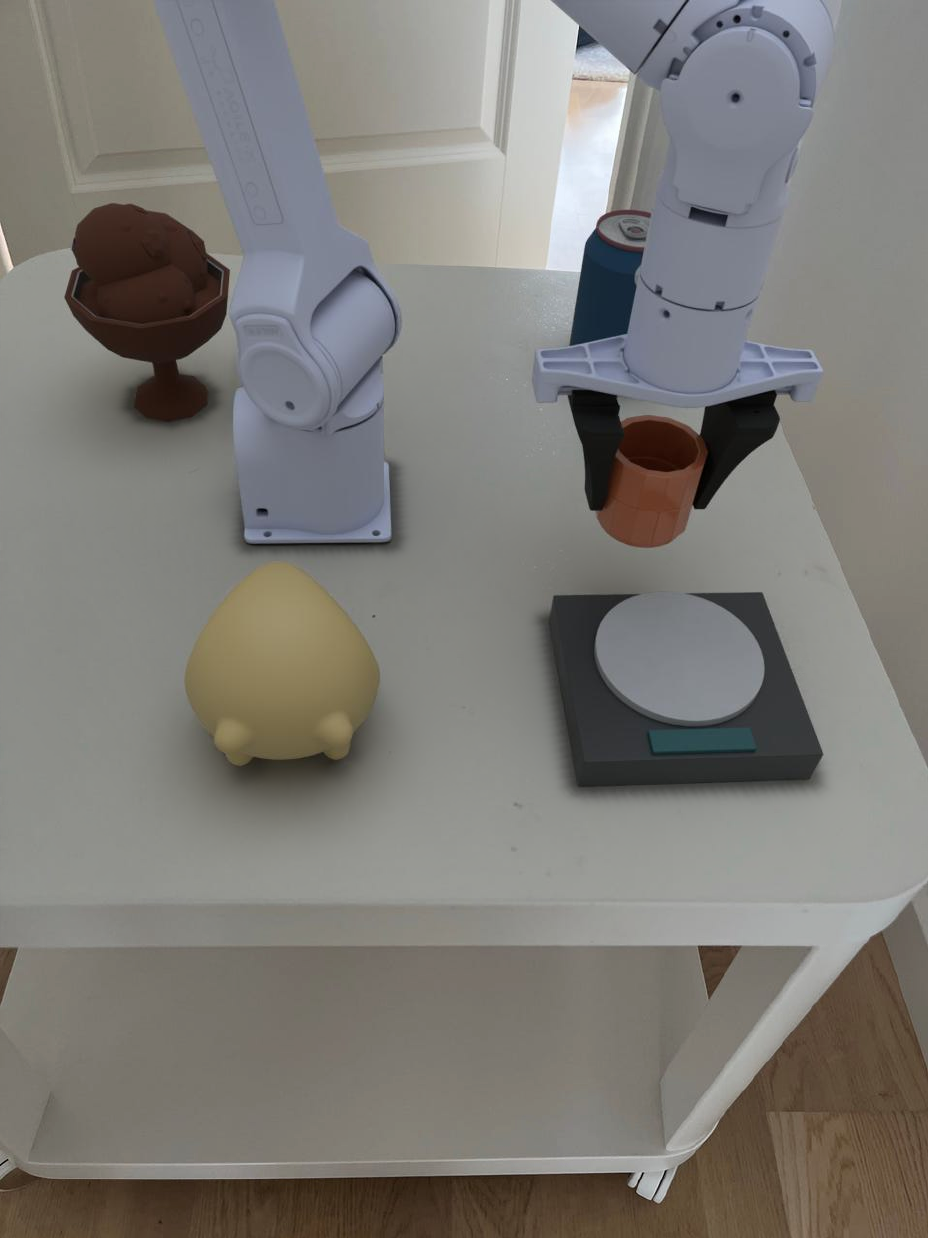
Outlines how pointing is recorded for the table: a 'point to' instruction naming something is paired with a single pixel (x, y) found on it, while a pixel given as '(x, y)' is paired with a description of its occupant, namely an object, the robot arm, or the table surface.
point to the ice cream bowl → (148, 299)
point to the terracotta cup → (652, 481)
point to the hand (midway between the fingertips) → (645, 498)
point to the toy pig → (281, 670)
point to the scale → (678, 690)
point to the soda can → (609, 276)
